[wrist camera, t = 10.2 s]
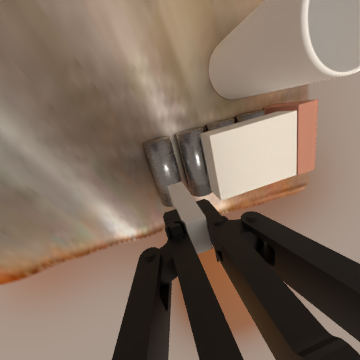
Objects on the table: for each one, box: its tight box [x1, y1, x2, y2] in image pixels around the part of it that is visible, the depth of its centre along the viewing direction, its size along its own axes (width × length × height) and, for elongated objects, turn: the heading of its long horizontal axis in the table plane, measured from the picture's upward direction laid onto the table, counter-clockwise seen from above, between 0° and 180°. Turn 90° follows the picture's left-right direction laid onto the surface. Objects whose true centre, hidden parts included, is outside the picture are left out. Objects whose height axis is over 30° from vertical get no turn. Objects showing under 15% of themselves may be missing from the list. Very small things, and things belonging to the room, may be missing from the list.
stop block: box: [263, 99, 318, 175], centre depth 28 cm, size 3×10×7 cm, turn 14°
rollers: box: [143, 110, 265, 207], centre depth 28 cm, size 19×10×4 cm, turn 104°
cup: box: [209, 0, 360, 100], centre depth 19 cm, size 8×8×16 cm
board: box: [200, 110, 297, 200], centre depth 25 cm, size 12×9×4 cm
